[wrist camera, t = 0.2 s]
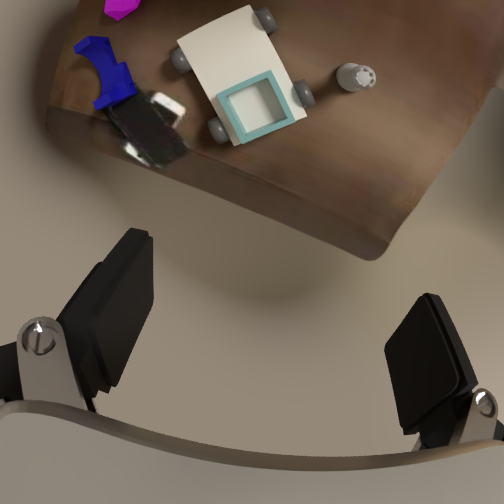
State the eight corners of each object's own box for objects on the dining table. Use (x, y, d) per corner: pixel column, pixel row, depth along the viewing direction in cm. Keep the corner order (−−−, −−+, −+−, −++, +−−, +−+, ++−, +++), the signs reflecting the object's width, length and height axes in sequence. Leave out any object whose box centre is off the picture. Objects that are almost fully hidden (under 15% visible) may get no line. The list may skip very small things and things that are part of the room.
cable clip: (138, 93, 38) (119, 97, 33) (116, 104, 39) (96, 110, 34) (116, 33, 32) (95, 30, 27) (94, 46, 33) (73, 46, 28)
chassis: (172, 48, 34) (158, 45, 29) (263, 4, 29) (260, -6, 25) (226, 146, 42) (219, 156, 38) (316, 109, 38) (321, 114, 33)
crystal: (115, -4, 28) (100, -9, 24) (144, -14, 27) (131, -21, 24) (115, 21, 31) (100, 19, 27) (145, 12, 30) (132, 7, 26)
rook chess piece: (330, 82, 35) (341, 83, 29) (342, 57, 33) (356, 53, 26) (357, 96, 36) (373, 101, 29) (370, 72, 33) (388, 72, 27)
